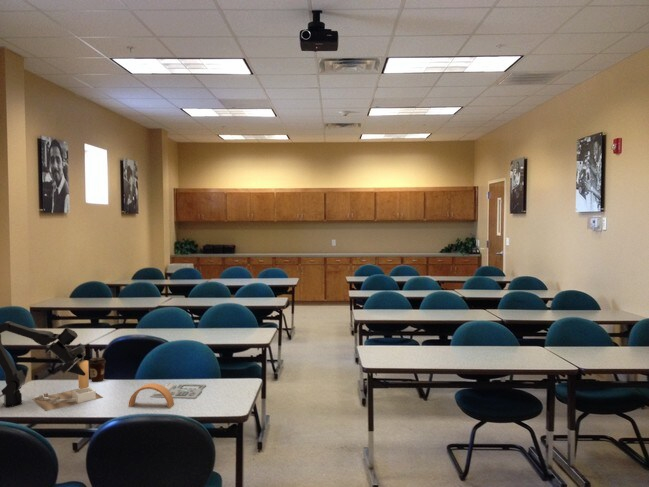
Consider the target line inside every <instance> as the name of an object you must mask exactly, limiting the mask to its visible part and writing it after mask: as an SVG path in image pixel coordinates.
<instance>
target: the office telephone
mask: <svg viewBox="0 0 649 487" xmlns="http://www.w3.org/2000/svg"><path fill="white" fill-rule="evenodd" d="M163 386H164V387H165V388H167V389H168V390H169V391H170V393H171V395H172V397H173V399H186V400H195V398H196V399H197V398H198V397H199V396H200V395H201V394H202V391H203V389H205V388H206V387H207V384H205V383H204V384H199V383H180V384H178V385H176V384H174V383H166V384H165V385H163ZM184 387H185V388H184ZM187 387H190V388H187ZM193 387H196V388H193ZM198 395H199V396H198ZM197 396H198V397H197ZM149 397H150V398H157V399H158V398H159V399H160V398H161V399H165V398H164V396H163V395H162V394H161V393H160V392H158V391H155V392H154V393H152V394H151V395H150V396H149Z"/></svg>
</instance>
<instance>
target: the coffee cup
mask: <svg viewBox="0 0 649 487" xmlns="http://www.w3.org/2000/svg"><path fill="white" fill-rule="evenodd" d="M106 363H107V361H106V359H105V358H104V357H92V358H90V359H89V360H88V369H89V377H90V380H91V383H99V382H103V381H104V378H105V369H106V367H105V366H106Z"/></svg>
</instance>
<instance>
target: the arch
mask: <svg viewBox="0 0 649 487" xmlns="http://www.w3.org/2000/svg"><path fill="white" fill-rule="evenodd" d="M164 386H165V385H162V384H159V383H155V382H154V383H153V382H152V383H151V382H150V383H146V384H144V385H142V386H140V387H139V388H138V389H137V390H136V391H134V392H133V393H132V395H131V396H130V398H129V400H128V408H131V407H133V406H134V405H135V404H136V400H137V396H138V394H139V393H140V392H141V391H144V390H153V391H155V392H157V391H158V392H160V393H161V394H162V395H163V396H164V398H163V399H165V402H166V404H167V408H168V409H170V408H172V406H173V405H174V404H175V403H174V402H175V401H174V398H173V397H172V395H171V393H170V391H169V390H168V389H167V388H165V387H164Z"/></svg>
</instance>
